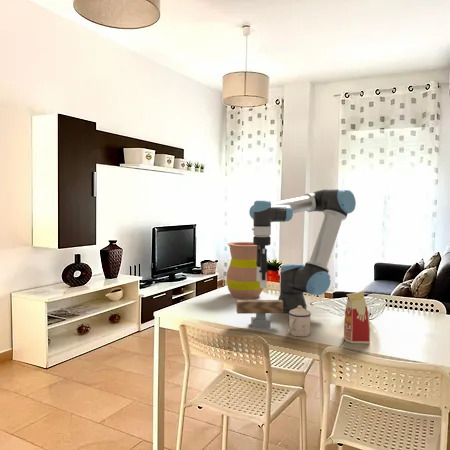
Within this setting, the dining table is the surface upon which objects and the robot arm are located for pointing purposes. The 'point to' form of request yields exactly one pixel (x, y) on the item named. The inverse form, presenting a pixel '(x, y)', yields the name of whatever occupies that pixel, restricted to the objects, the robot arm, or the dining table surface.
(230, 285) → the vase
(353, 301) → the milk carton
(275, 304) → the walnut bar
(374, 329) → the dining table surface
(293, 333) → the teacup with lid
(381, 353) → the dining table surface
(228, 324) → the dining table surface
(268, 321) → the block
